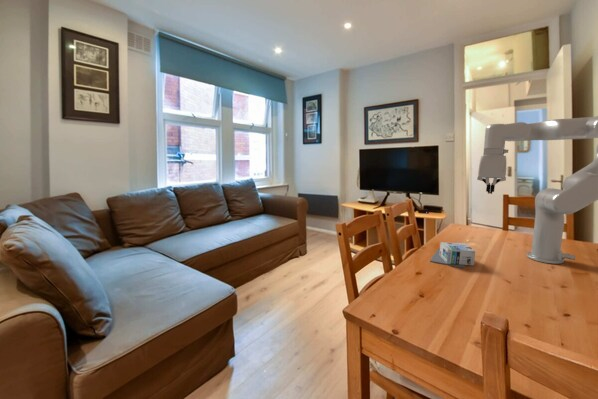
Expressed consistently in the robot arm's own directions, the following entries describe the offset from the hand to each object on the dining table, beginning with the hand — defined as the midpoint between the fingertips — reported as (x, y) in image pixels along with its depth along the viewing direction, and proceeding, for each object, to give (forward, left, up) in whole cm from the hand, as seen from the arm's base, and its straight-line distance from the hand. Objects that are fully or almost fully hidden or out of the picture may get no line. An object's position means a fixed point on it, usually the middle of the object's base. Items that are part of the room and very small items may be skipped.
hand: (489, 193), depth 125 cm
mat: (+12, +14, -29) cm, 35 cm away
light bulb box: (+5, +15, -25) cm, 30 cm away
